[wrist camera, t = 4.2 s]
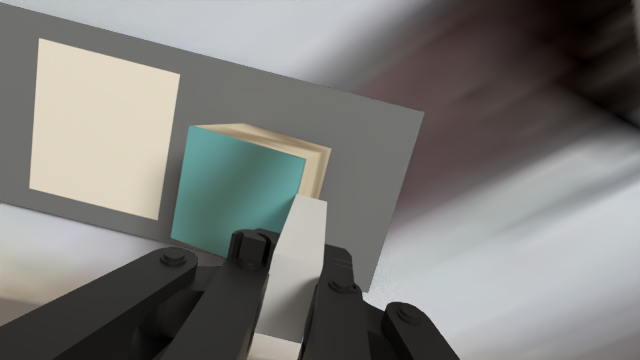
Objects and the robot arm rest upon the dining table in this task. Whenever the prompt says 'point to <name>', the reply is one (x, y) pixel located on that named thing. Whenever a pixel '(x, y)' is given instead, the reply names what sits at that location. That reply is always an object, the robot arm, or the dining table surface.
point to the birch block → (242, 182)
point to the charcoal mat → (176, 131)
